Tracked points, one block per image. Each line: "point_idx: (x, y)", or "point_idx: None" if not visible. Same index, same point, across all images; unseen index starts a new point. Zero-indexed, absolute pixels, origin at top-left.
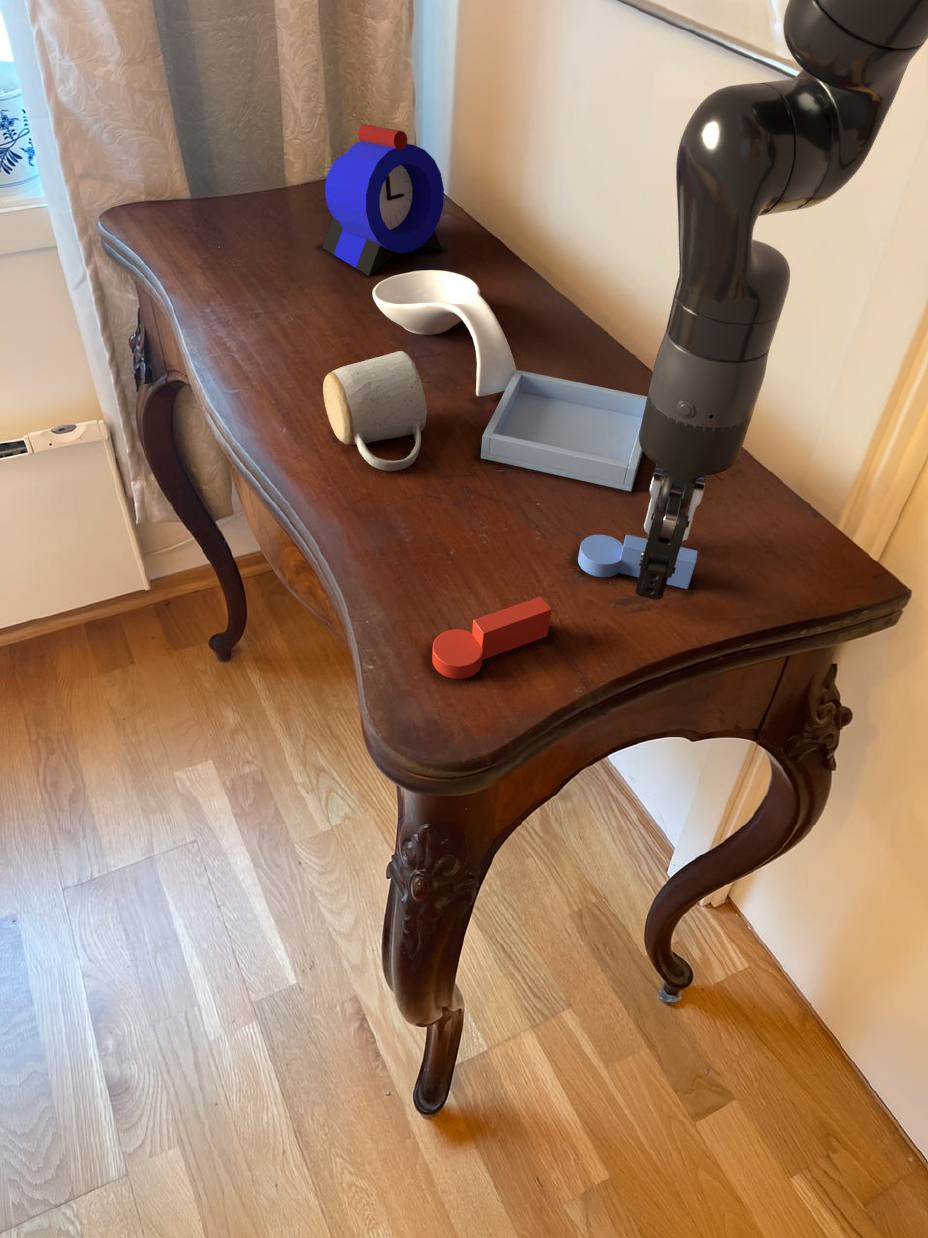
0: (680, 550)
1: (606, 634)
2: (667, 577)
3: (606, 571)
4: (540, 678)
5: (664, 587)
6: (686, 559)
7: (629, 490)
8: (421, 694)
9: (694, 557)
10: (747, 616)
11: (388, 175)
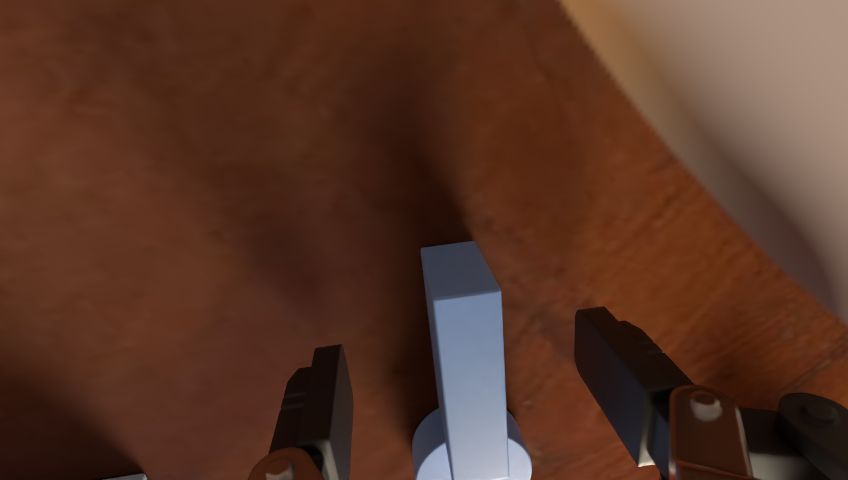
0: (460, 347)
1: (697, 357)
2: (649, 357)
3: (519, 432)
4: None
5: (625, 331)
6: (496, 319)
7: (145, 478)
8: None
9: (476, 300)
10: (520, 41)
11: None
